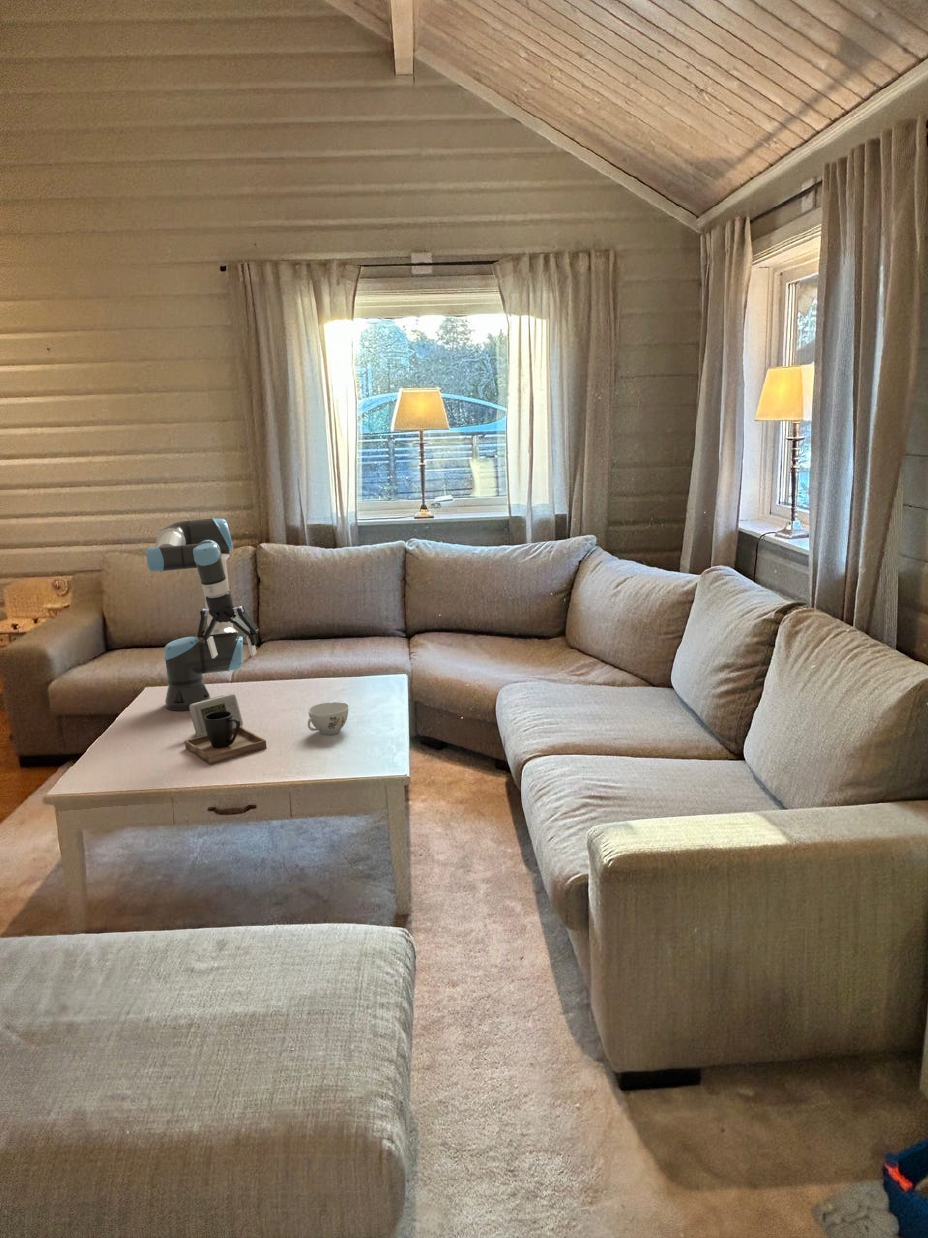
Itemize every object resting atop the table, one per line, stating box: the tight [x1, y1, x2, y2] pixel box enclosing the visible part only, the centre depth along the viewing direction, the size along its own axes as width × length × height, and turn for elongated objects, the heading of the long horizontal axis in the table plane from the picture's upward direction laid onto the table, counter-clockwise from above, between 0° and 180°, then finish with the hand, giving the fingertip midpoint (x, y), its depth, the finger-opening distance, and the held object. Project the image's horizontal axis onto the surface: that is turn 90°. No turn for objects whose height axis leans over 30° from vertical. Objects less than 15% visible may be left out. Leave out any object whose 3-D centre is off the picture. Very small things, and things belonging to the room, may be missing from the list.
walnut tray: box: [184, 726, 267, 766], centre depth 269 cm, size 18×18×2 cm
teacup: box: [307, 701, 349, 736], centre depth 278 cm, size 15×12×8 cm
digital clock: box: [189, 692, 244, 738], centre depth 285 cm, size 16×9×11 cm, turn 119°
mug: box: [204, 711, 240, 748], centre depth 268 cm, size 8×12×10 cm
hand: (234, 655), depth 281 cm, fingers open, 13 cm apart
